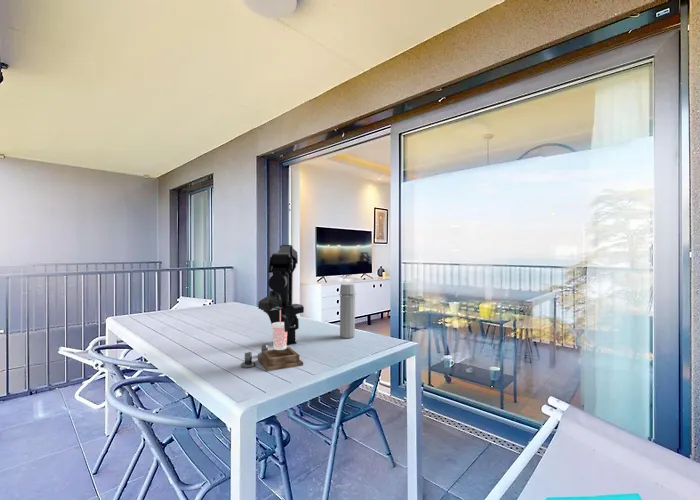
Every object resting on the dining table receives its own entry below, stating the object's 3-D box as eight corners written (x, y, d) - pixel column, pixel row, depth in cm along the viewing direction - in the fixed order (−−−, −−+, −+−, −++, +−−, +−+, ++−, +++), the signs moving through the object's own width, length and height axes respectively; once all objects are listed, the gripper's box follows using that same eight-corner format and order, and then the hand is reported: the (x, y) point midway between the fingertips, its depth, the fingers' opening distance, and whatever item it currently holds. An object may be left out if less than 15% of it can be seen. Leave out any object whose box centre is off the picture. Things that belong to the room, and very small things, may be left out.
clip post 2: (269, 353, 134) (269, 342, 134) (272, 356, 130) (272, 345, 130) (256, 355, 132) (256, 343, 132) (259, 358, 127) (259, 347, 127)
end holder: (291, 355, 132) (291, 346, 132) (303, 365, 121) (303, 355, 121) (257, 360, 126) (257, 350, 126) (267, 371, 115) (267, 360, 115)
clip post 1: (253, 362, 123) (253, 350, 123) (257, 366, 119) (257, 354, 119) (239, 364, 121) (239, 352, 121) (242, 369, 116) (242, 356, 116)
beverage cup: (273, 345, 127) (274, 308, 126) (290, 345, 126) (290, 308, 126) (269, 350, 120) (269, 311, 120) (286, 350, 120) (286, 311, 120)
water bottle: (340, 334, 165) (340, 283, 165) (356, 335, 164) (356, 283, 164) (337, 339, 156) (337, 285, 156) (354, 340, 155) (354, 285, 155)
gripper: (246, 287, 122) (246, 330, 123) (281, 292, 111) (280, 339, 111) (270, 285, 131) (270, 325, 132) (305, 289, 120) (304, 332, 120)
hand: (280, 330), depth 123 cm, fingers closed on beverage cup, 6 cm apart
